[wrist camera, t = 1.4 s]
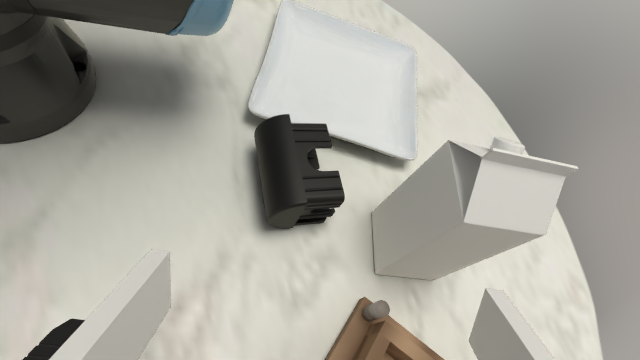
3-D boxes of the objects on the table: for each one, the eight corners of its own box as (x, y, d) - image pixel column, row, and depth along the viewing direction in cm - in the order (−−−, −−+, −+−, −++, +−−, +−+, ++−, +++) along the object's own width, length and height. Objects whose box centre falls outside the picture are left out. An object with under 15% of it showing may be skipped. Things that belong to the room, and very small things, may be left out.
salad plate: (406, 174, 45) (420, 160, 42) (242, 127, 41) (245, 108, 39) (407, 62, 56) (418, 45, 53) (277, 16, 52) (281, -5, 49)
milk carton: (433, 281, 39) (597, 214, 23) (373, 274, 37) (505, 198, 21) (425, 220, 42) (562, 127, 26) (370, 212, 41) (482, 107, 25)
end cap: (249, 149, 40) (258, 112, 34) (309, 148, 42) (326, 113, 37) (261, 233, 36) (273, 206, 30) (326, 227, 38) (349, 201, 33)
